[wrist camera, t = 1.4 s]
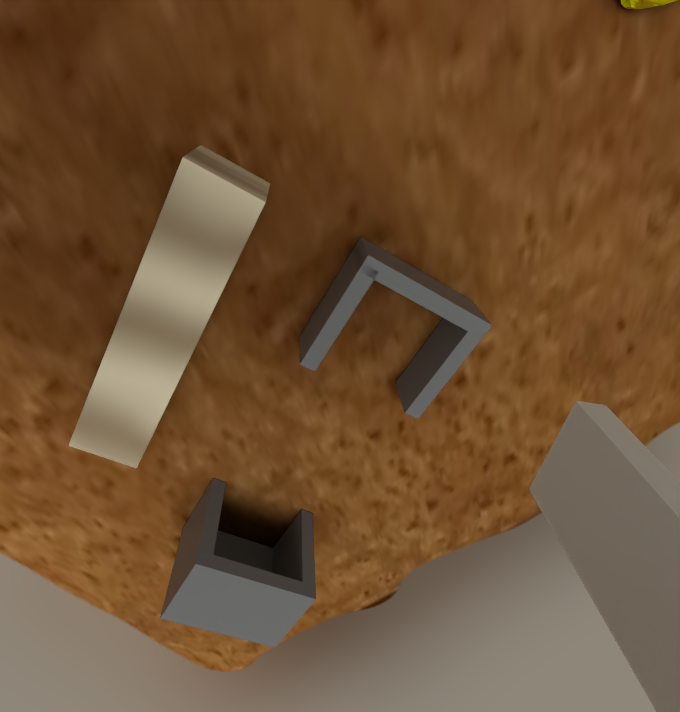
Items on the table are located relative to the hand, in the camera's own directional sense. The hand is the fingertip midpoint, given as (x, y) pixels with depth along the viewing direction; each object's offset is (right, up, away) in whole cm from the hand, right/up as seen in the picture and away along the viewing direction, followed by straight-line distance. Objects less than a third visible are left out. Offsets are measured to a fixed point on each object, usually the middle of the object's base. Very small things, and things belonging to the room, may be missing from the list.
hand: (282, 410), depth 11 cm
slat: (-9, +5, +19) cm, 22 cm away
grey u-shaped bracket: (+4, +3, +21) cm, 22 cm away
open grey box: (-6, -12, +29) cm, 32 cm away
